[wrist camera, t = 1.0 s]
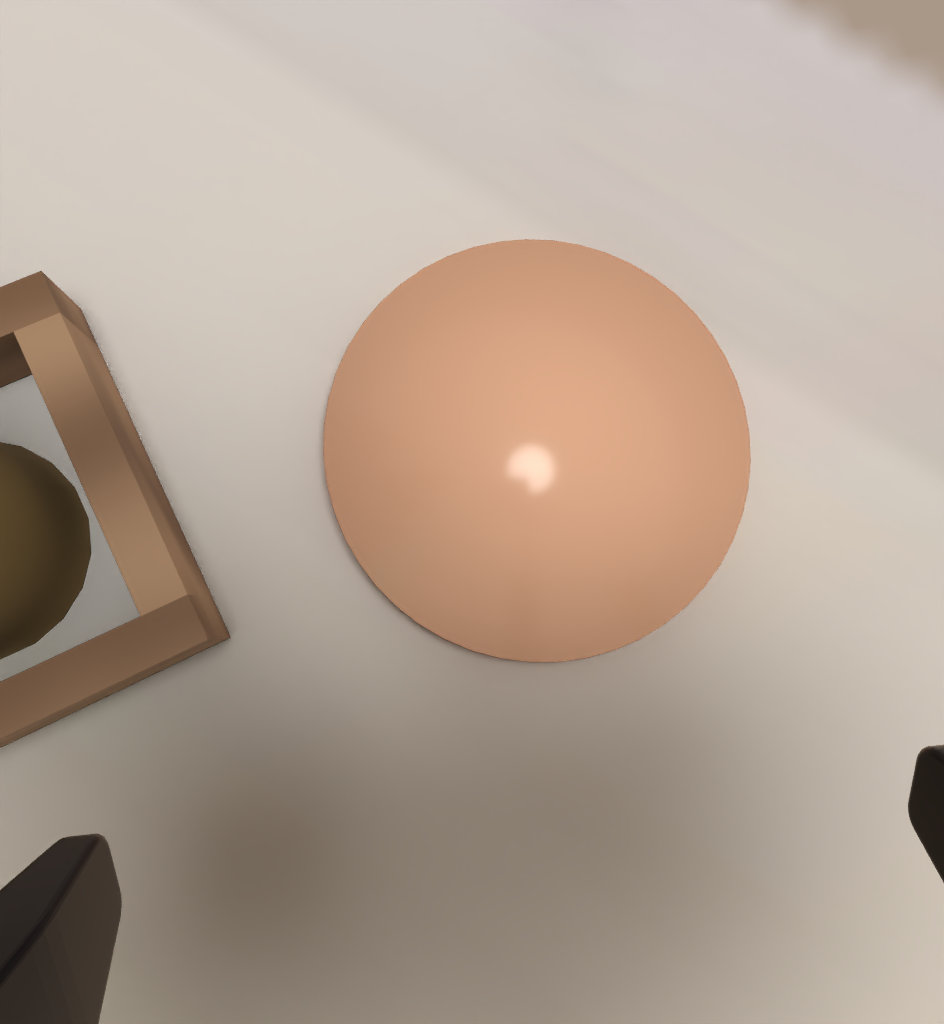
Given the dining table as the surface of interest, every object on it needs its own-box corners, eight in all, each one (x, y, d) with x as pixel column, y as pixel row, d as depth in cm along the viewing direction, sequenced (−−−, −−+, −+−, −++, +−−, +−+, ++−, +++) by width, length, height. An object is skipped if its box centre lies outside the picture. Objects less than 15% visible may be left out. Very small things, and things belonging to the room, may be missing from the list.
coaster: (598, 746, 22) (605, 751, 21) (240, 502, 22) (233, 497, 22) (811, 400, 24) (825, 392, 23) (479, 176, 24) (481, 161, 23)
